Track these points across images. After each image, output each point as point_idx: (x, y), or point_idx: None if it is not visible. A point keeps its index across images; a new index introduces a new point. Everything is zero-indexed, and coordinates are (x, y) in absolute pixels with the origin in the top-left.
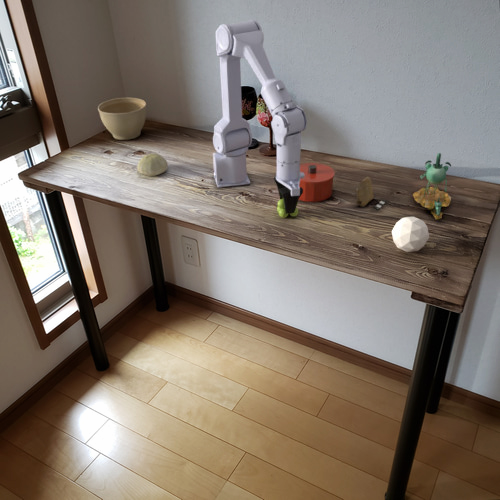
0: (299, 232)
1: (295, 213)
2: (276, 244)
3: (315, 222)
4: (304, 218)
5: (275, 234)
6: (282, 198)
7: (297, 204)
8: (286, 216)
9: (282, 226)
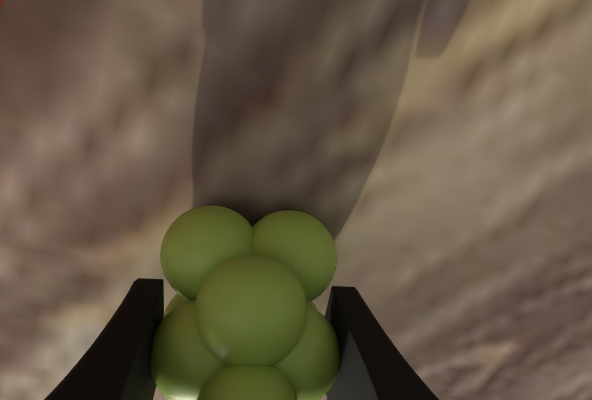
0: (538, 259)
1: (334, 257)
2: (563, 395)
3: (483, 90)
4: (366, 158)
5: (465, 381)
6: (152, 388)
7: (290, 273)
8: (312, 302)
9: (398, 331)
